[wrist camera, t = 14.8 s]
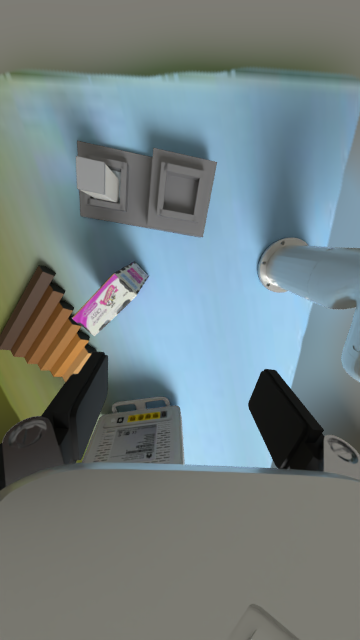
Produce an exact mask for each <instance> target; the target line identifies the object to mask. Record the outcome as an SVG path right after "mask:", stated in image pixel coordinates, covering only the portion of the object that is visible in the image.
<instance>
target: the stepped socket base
mask: <svg viewBox="0 0 360 640" xmlns="http://www.w3.org/2000/svg"><path fill="white" fill-rule="evenodd" d="M77 149H78V157H82V158H87V159H91V160H96V161H100V162H104V163H105V164H106V165H107V166H108V167H109V169H110V170H111V171H112V172H113V173H114V174H115V176H116V177H117V178H118V179H119V204H117V203H111V202H106V201H101V200H97V199H95V198H94V197H92V196H90V195H88V194H86V193H84V192H83V191H81V190H79V193H80V215H81V216H83V217H88V218H94V219H100V220H105V221H111V222H116V223H122V224H128V225H133V226H139V227H144V228H150V229H156V230H161V231H167V232H173V233H178V234H184V235H189V236H195V237H203V233H204V228H205V223H206V217H207V212H208V207H209V202H210V196H211V191H212V186H213V181H214V175H215V170H216V165H217V162H214V161H210V160H205V159H201V158H196V157H192V156H188V155H183V154H179V153H174V152H170V151H165V150H161V149H157V148H153V157H149V156H145V155H140V154H135V153H131V152H126V151H122V150H117V149H113V148H108V147H104V146H99V145H95V144H90V143H86V142H81V141H77Z"/></svg>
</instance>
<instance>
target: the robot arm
mask: <svg viewBox="0 0 360 640" xmlns="http://www.w3.org/2000/svg"><path fill="white" fill-rule="evenodd" d="M262 263H263V264H262ZM258 276H259V279H260V282H261V283H262V285H263V286H264V287H265V288H267V289H268V290H270V291H273V292H278V293H280V292H287V291H289V292H291V293H294V294H296V295H298V296H300V297H303V298H305V299H307V300H309V301H312V302H314V303H316V304H319V305H321V306H324V307H327V308H330V309H348V308H354V307H356V309H355V313H354V316H353V321H352V324H351V327H350V330H349V332H348V335H347V338H346V342H345V345H344V348H343V351H342V357H341V361H342V366H343V368H344V369H345V371H346V372H347V373H348V374H349V375H350V376H351V377H352V378H353V379H355V380H356V381H358V382H359V383H360V248H336V247H317V246H309V245H308V244H307V243H306V242H305V241H303V240H301V239H298V238H284V239H280V240H278V241H276V242H275V243H273V244H272V245H270V246H269V247H268V248H267V249H266V251H265V252H264V253H263V255H262V257H261V259H260V262H259V266H258ZM107 391H108V356H107V355H105V353H104V352H96V351H94V352H92V354H91V355H90V357H89V358H88V360H87V361H86V363H85V364H84V366H83V367H82V369H81V370H80V372H79V373H78V374H72V375H71V376H70V377H69V378H68V380H67V381H66V383H65V384H64V385H63V387H62V388H61V389H60V391H59V392H58V394H57V395H56V396H55V398H54V399H53V400H52V402H51V403H50V405H49V406H48V407H47V409H46V410H45V411H44V413H43V414H42V416H36V417H31V418H27V419H25V420H23V421H21V422H19V423H17V424H16V425H15V426H13V427H12V428H11V429H10V430H9V431H8V432H7V433H6V435H5V437H4V438H3V443H1V444H0V640H360V455H359V454H358V452H357V451H356V450H355V449H354V448H353V447H352V446H351V445H349V444H348V443H347V442H346V441H344V440H342V439H341V438H338V437H336V436H333V435H326V436H325V437H324V436H323V434H322V432H323V431H324V430H323V428H322V427H321V426H320V425H319V424H318V422H317V421H316V420H315V419H314V417H313V416H312V415H311V414H310V412H309V411H308V410H307V409H306V407H305V406H304V405H303V404H302V402H301V401H300V400H299V399H298V397H297V396H296V395H295V394H294V392H293V391H292V390H291V389H290V387H289V386H288V385H287V384H286V382H285V381H284V380H283V379H282V377H281V376H280V375H279V374H278V373H277V371H276V370H270V369H265V370H264V371H262V372H261V374H260V376H259V379H258V381H257V383H256V386H255V388H254V391H253V393H252V396H251V398H250V400H249V403H248V406H249V410H250V412H251V414H252V416H253V418H254V420H255V423H256V425H257V427H258V429H259V431H260V433H261V435H262V437H263V440H264V442H265V444H266V446H267V448H268V450H269V452H270V455H271V457H272V459H273V461H274V463H275V465H276V466H277V468H279V469H276V468H255V467H232V466H208V465H182V464H153V463H113V462H92V463H76V461H77V460H81V458H82V456H83V454H84V452H85V449H86V447H87V444H88V442H89V439H90V437H91V434H92V432H93V429H94V427H95V424H96V422H97V419H98V417H99V414H100V412H101V409H102V407H103V404H104V402H105V399H106V396H107Z"/></svg>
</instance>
